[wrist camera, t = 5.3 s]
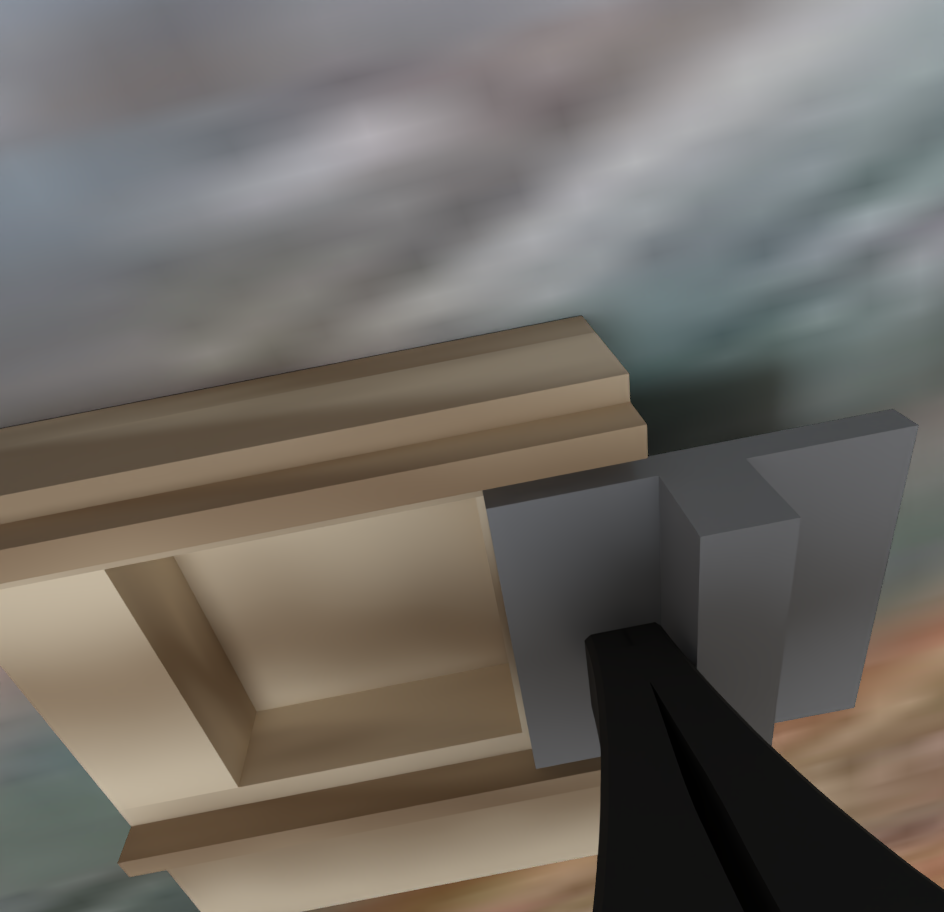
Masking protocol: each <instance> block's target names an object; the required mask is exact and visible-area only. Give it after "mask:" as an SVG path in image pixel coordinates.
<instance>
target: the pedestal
mask: <svg viewBox="0 0 944 912" xmlns="http://www.w3.org/2000/svg"><path fill="white" fill-rule="evenodd" d="M646 458H648V445H647V424H646V423H645V421H644V420H643V418H642V417H641V416H640V414H639V413H638V412H637V410H636V409H635V408H634V406H633V405H632V404H631V402H630V384H629V373H628V372H627V370H626V369H625V368H624V367H623V366H622V364H621V363H620V362H619V361H618V359H617V358H616V357H615V356H614V355H613V353H612V352H611V351H610V350H609V348H608V347H607V346H606V345H605V343H604V342H603V341H602V340H601V339H600V337H599V336H598V335H597V334H596V332H595V331H594V330H593V329H592V328H591V326H590V325H589V324H588V323H587V321H586V320H585V319H584V318H583V316H578V317H573V318H568V319H562V320H557V321H552V322H547V323H542V324H537V325H532V326H526V327H521V328H516V329H511V330H506V331H501V332H496V333H490V334H485V335H480V336H475V337H470V338H465V339H460V340H455V341H449V342H444V343H439V344H434V345H429V346H424V347H419V348H413V349H408V350H403V351H398V352H393V353H388V354H383V355H377V356H372V357H367V358H362V359H357V360H352V361H347V362H342V363H336V364H331V365H326V366H321V367H316V368H311V369H306V370H300V371H295V372H290V373H285V374H280V375H275V376H270V377H264V378H259V379H254V380H249V381H244V382H239V383H234V384H229V385H223V386H218V387H213V388H208V389H203V390H198V391H193V392H187V393H182V394H177V395H172V396H167V397H162V398H157V399H151V400H146V401H141V402H136V403H131V404H126V405H121V406H116V407H110V408H105V409H100V410H95V411H90V412H85V413H80V414H74V415H69V416H64V417H59V418H54V419H49V420H44V421H38V422H33V423H28V424H23V425H18V426H13V427H8V428H3V429H0V666H1V667H2V668H3V669H4V671H5V672H6V673H7V674H8V676H9V677H10V678H11V679H12V680H13V682H14V683H15V684H16V685H17V687H18V688H19V689H20V690H21V692H22V693H23V694H24V695H25V696H26V698H27V699H28V700H29V701H30V703H31V704H32V705H33V706H34V708H35V709H36V710H37V711H38V712H39V714H40V715H41V716H42V717H43V719H44V720H45V721H46V722H47V723H48V725H49V726H50V727H51V728H52V730H53V731H54V732H55V733H56V735H57V736H58V737H59V738H60V739H61V741H62V742H63V743H64V744H65V746H66V747H67V748H68V749H69V750H70V752H71V753H72V754H73V755H74V757H75V758H76V759H77V760H78V762H79V763H80V764H81V765H82V766H83V768H84V769H85V770H86V771H87V773H88V774H89V775H90V776H91V777H92V779H93V780H94V781H95V782H96V784H97V785H98V786H99V787H100V789H101V790H102V791H103V792H104V793H105V795H106V796H107V797H108V798H109V800H110V801H111V802H112V803H113V805H114V806H115V807H116V808H117V809H118V811H119V812H120V813H121V814H122V816H123V817H124V818H125V819H126V820H127V822H128V823H129V824H130V825H131V829H130V831H129V834H128V837H127V839H126V842H125V845H124V847H123V850H122V853H121V855H120V858H119V861H118V864H119V866H120V867H121V868H122V869H123V870H124V871H125V872H126V873H127V875H128V876H129V877H133V876H138V875H143V874H148V873H154V872H159V871H164V870H167V871H168V872H169V873H170V874H171V876H172V877H173V878H174V879H175V881H176V882H177V883H178V884H179V886H180V887H181V888H182V889H183V890H184V892H185V893H186V894H187V895H188V897H189V898H190V899H191V900H192V902H193V903H194V904H195V905H196V906H197V908H198V909H199V910H200V911H201V912H303V911H308V910H313V909H318V908H324V907H329V906H334V905H339V904H344V903H350V902H355V901H360V900H365V899H370V898H375V897H381V896H386V895H391V894H396V893H401V892H407V891H412V890H417V889H422V888H427V887H432V886H438V885H443V884H448V883H453V882H458V881H464V880H469V879H474V878H479V877H484V876H489V875H495V874H500V873H505V872H510V871H515V870H521V869H526V868H531V867H536V866H541V865H546V864H552V863H557V862H562V861H567V860H572V859H578V858H583V857H588V856H593V855H598V844H599V825H600V783H601V757H596V758H591V759H586V760H580V761H575V762H570V763H565V764H560V765H555V766H549V767H544V768H539V769H536V767H535V762H534V757H533V752H532V746H531V741H530V736H529V731H528V726H527V720H526V715H525V710H524V705H523V700H522V694H521V689H520V684H519V679H518V674H517V668H516V663H515V658H514V653H513V648H512V642H511V637H510V632H509V627H508V621H507V616H506V611H505V606H504V601H503V595H502V590H501V585H500V580H499V575H498V569H497V564H496V559H495V554H494V549H493V543H492V538H491V533H490V528H489V522H488V517H487V512H486V507H485V502H484V496H483V491H482V490H487V489H492V488H497V487H502V486H507V485H512V484H518V483H523V482H528V481H533V480H538V479H543V478H548V477H554V476H559V475H564V474H569V473H574V472H579V471H584V470H590V469H595V468H600V467H605V466H610V465H615V464H621V463H626V462H631V461H636V460H641V459H646Z"/></svg>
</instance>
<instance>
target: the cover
mask: <svg viewBox="0 0 944 912" xmlns="http://www.w3.org/2000/svg"><path fill="white" fill-rule="evenodd" d="M918 426H919V425H918V424H916V423H914V422H913V421H911V420H910V419H908V418H907V417H905V416H903V415H902V414H900V413H899V412H897V411H896V410H894V409H890V410H885V411H879V412H874V413H869V414H864V415H859V416H854V417H849V418H843V419H838V420H833V421H828V422H823V423H818V424H812V425H807V426H802V427H797V428H792V429H787V430H782V431H776V432H771V433H766V434H761V435H756V436H751V437H746V438H740V439H735V440H730V441H725V442H720V443H715V444H709V445H704V446H699V447H694V448H689V449H684V450H679V451H673V452H668V453H663V454H658V455H653V456H648V458H646V459H641V460H636V461H631V462H626V463H621V464H615V465H610V466H605V467H600V468H595V469H590V470H584V471H579V472H574V473H569V474H564V475H559V476H554V477H548V478H543V479H538V480H533V481H528V482H523V483H518V484H512V485H507V486H502V487H497V488H492V489H487V490H482V491H483V496H484V502H485V507H486V512H487V517H488V522H489V528H490V533H491V538H492V543H493V549H494V554H495V559H496V564H497V569H498V575H499V580H500V585H501V590H502V595H503V601H504V606H505V611H506V616H507V621H508V627H509V632H510V637H511V642H512V648H513V653H514V658H515V663H516V668H517V674H518V679H519V684H520V689H521V694H522V700H523V705H524V710H525V715H526V720H527V726H528V731H529V736H530V741H531V746H532V752H533V757H534V762H535V767H536V769H539V768H544V767H549V766H555V765H560V764H565V763H570V762H575V761H580V760H586V759H591V758H596V757H601V748H600V743H599V738H598V733H597V728H596V723H595V719H594V715H593V711H592V706H591V697H590V688H589V679H588V669H587V660H586V651H585V642H584V640H585V639H586V638H587V637H588V636H589V635H591V634H596V633H601V632H606V631H612V630H617V629H622V628H627V627H632V626H637V625H642V624H648V623H653V622H656V623H657V624H659V625H661V626H662V627H663V629H664V630H665V631H666V633H667V634H668V635H669V636H670V638H671V639H672V640H673V641H674V643H675V644H676V645H677V646H678V648H679V649H680V650H681V651H682V652H683V653H684V655H685V656H686V657H687V658H688V659H689V660H690V662H691V663H692V664H693V665H694V666H695V667H696V669H697V670H698V671H699V672H700V673H701V674H702V675H703V676H704V677H705V679H706V680H707V681H708V682H709V683H710V684H711V685H712V686H713V687H714V688H715V690H716V691H717V692H718V693H719V694H720V695H721V696H722V697H723V698H724V699H725V700H726V701H727V702H728V703H729V704H730V705H731V706H732V707H733V708H734V709H735V710H736V711H737V712H738V713H739V715H740V716H741V717H742V718H743V719H744V720H745V721H746V722H747V723H748V724H749V725H750V726H751V727H752V728H753V729H754V730H755V731H756V732H757V733H758V734H759V735H760V736H761V737H762V738H763V739H764V740H765V741H766V742H767V743H768V744H770V745H771V746H772V738H773V730H774V723H777V722H782V721H787V720H793V719H798V718H803V717H808V716H813V715H819V714H824V713H829V712H834V711H839V710H844V709H850V708H854V707H855V702H856V698H857V693H858V689H859V685H860V680H861V676H862V671H863V667H864V663H865V658H866V654H867V650H868V645H869V641H870V636H871V632H872V628H873V623H874V619H875V614H876V610H877V606H878V601H879V597H880V593H881V588H882V584H883V579H884V575H885V571H886V566H887V562H888V557H889V553H890V549H891V544H892V540H893V536H894V531H895V527H896V522H897V518H898V514H899V509H900V505H901V500H902V496H903V492H904V487H905V483H906V479H907V474H908V470H909V465H910V461H911V457H912V452H913V448H914V443H915V439H916V435H917V430H918Z"/></svg>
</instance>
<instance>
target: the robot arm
mask: <svg viewBox="0 0 944 912" xmlns="http://www.w3.org/2000/svg"><path fill="white" fill-rule="evenodd" d="M584 642H585V651H586V660H587V669H588V679H589V688H590V697H591V706H592V711H593V715H594V719H595V723H596V728H597V733H598V738H599V743H600V748H601V783H600V825H599V844H598V858H597V872H596V885H595V895H594V905H593V912H944V889H942V888H941V887H940V886H938V885H937V884H936V883H934V882H933V881H931V880H930V879H929V878H927V877H926V876H925V875H923V874H922V873H920V872H919V871H918V870H916V869H915V868H914V867H912V866H911V865H910V864H908V863H907V862H906V861H905V860H903V859H902V858H901V857H900V856H898V855H897V854H896V853H895V852H893V851H892V850H891V849H889V848H888V847H887V846H886V845H884V844H883V843H882V842H881V841H879V840H878V839H877V838H876V837H874V836H873V835H872V834H871V833H869V832H868V831H867V830H866V829H864V828H863V827H862V826H861V825H860V824H858V823H857V822H856V821H855V820H854V819H852V818H851V817H850V816H849V815H848V814H846V813H845V812H844V811H843V810H842V809H840V808H839V807H838V806H837V805H836V804H834V803H833V802H832V801H831V800H830V799H829V798H828V797H826V796H825V795H824V794H823V793H822V792H821V791H819V790H818V789H817V788H816V787H815V786H814V785H813V784H812V783H810V782H809V781H808V780H807V779H806V778H805V777H804V776H803V775H802V774H800V773H799V772H798V771H797V770H796V769H795V768H794V767H793V766H792V765H791V764H790V763H789V762H788V761H786V760H785V759H784V758H783V757H782V756H781V755H780V754H779V753H778V752H777V751H776V750H775V749H774V748H773V747H772V746H771V745H770V744H768V743H767V742H766V741H765V740H764V739H763V738H762V737H761V736H760V735H759V734H758V733H757V732H756V731H755V730H754V729H753V728H752V727H751V726H750V725H749V724H748V723H747V722H746V721H745V720H744V719H743V718H742V717H741V716H740V715H739V713H738V712H737V711H736V710H735V709H734V708H733V707H732V706H731V705H730V704H729V703H728V702H727V701H726V700H725V699H724V698H723V697H722V696H721V695H720V694H719V693H718V692H717V691H716V690H715V688H714V687H713V686H712V685H711V684H710V683H709V682H708V681H707V680H706V679H705V677H704V676H703V675H702V674H701V673H700V672H699V671H698V670H697V669H696V667H695V666H694V665H693V664H692V663H691V662H690V660H689V659H688V658H687V657H686V656H685V655H684V653H683V652H682V651H681V650H680V649H679V648H678V646H677V645H676V644H675V643H674V641H673V640H672V639H671V638H670V636H669V635H668V634H667V633H666V631H665V630H664V629H663V627H662V626H661V625H659V624H657V623H656V622H653V623H648V624H642V625H637V626H632V627H627V628H622V629H617V630H612V631H606V632H601V633H596V634H591V635H589V636H588V637H587V638H586V639H585V640H584Z"/></svg>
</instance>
